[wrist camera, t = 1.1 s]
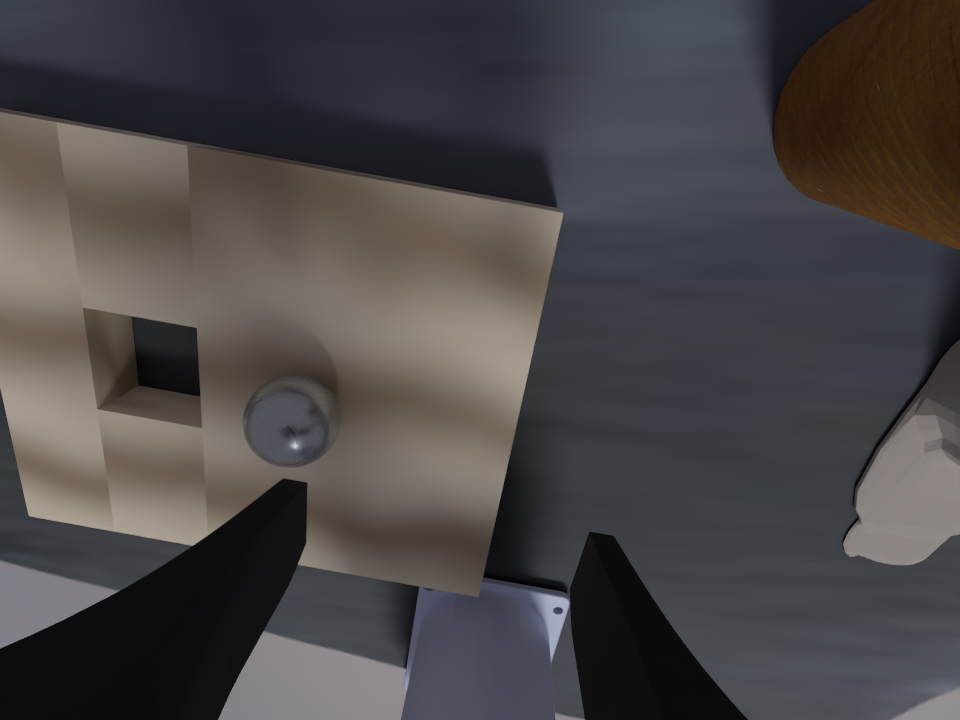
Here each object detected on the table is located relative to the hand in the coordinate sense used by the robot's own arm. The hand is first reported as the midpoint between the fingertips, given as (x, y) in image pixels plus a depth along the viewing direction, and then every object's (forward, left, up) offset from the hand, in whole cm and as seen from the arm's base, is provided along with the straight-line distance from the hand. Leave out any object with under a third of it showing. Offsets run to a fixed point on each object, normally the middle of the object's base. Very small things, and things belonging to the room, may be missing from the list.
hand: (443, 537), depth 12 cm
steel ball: (-1, +6, -6) cm, 9 cm away
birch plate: (-1, +9, -10) cm, 14 cm away
